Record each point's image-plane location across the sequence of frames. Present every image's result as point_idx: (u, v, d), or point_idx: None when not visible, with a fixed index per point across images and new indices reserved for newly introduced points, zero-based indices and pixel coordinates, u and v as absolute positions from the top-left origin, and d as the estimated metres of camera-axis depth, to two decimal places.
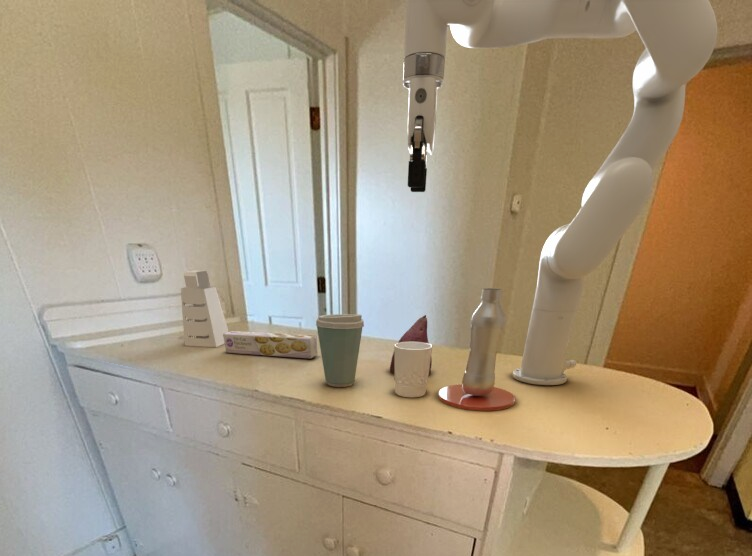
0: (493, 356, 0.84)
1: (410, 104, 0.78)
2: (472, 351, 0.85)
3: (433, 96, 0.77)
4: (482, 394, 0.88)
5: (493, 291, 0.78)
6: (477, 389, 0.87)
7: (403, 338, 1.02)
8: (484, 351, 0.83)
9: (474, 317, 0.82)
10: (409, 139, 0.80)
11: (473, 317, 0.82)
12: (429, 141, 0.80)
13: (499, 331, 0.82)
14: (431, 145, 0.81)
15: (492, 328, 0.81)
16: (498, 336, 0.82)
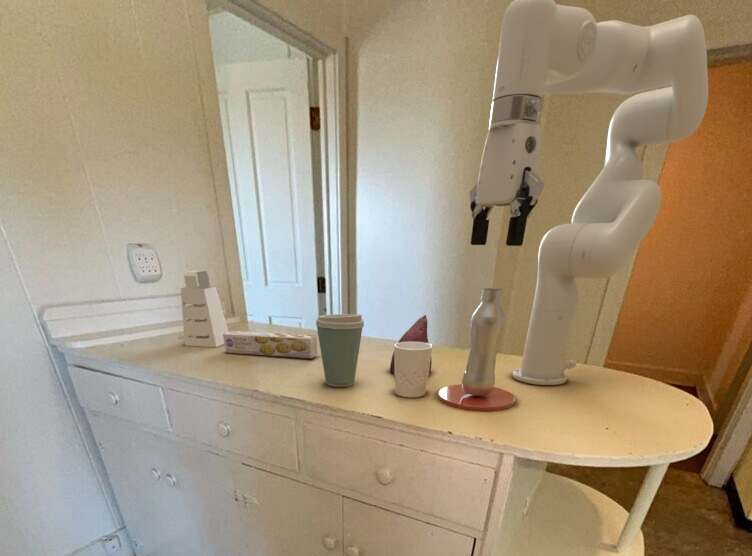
0: (493, 356, 0.84)
1: (519, 153, 0.66)
2: (472, 351, 0.85)
3: None
4: (482, 394, 0.88)
5: (493, 291, 0.78)
6: (477, 389, 0.87)
7: (403, 338, 1.02)
8: (484, 351, 0.83)
9: (474, 317, 0.82)
10: (514, 192, 0.68)
11: (473, 317, 0.82)
12: None
13: (499, 331, 0.82)
14: None
15: (492, 328, 0.81)
16: (498, 336, 0.82)
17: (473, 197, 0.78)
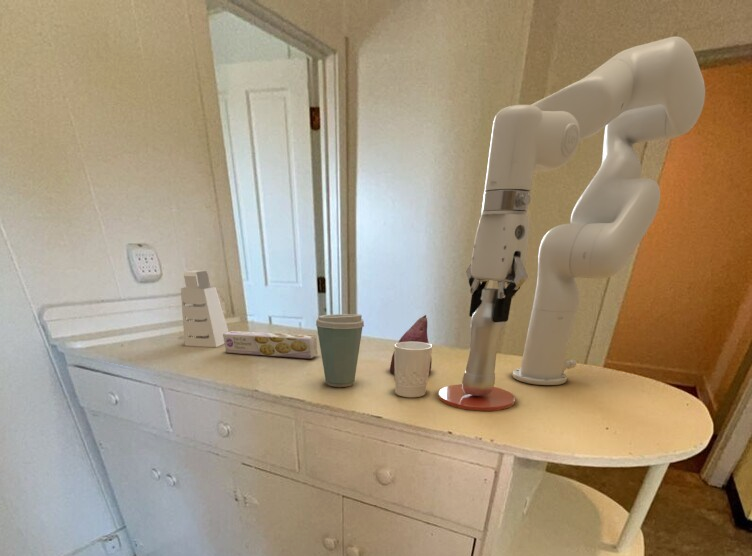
0: (493, 356, 0.84)
1: (509, 239, 0.71)
2: (472, 351, 0.85)
3: (528, 232, 0.72)
4: (482, 394, 0.88)
5: (493, 291, 0.78)
6: (477, 389, 0.87)
7: (403, 338, 1.02)
8: (484, 351, 0.83)
9: (474, 317, 0.82)
10: (505, 273, 0.74)
11: (473, 317, 0.82)
12: None
13: (499, 331, 0.82)
14: None
15: (492, 328, 0.81)
16: (498, 336, 0.82)
17: (470, 274, 0.83)
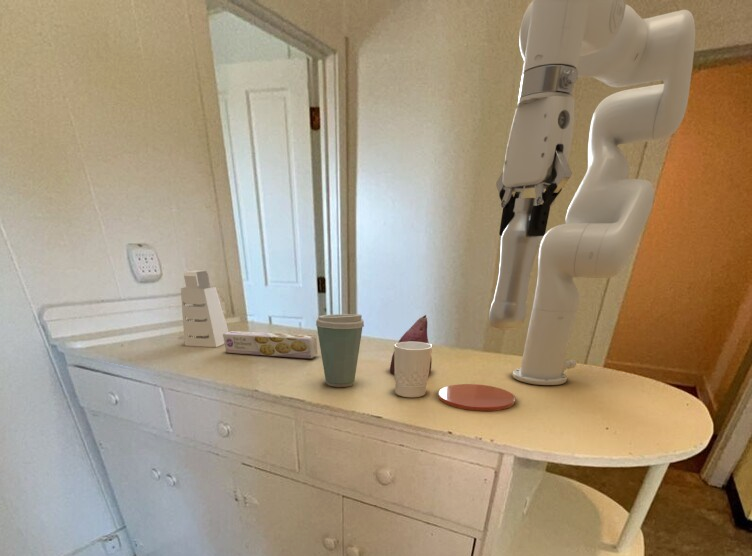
0: (526, 280, 0.74)
1: (551, 128, 0.61)
2: (502, 275, 0.75)
3: (573, 122, 0.62)
4: (512, 326, 0.78)
5: (528, 199, 0.68)
6: (507, 320, 0.77)
7: (403, 338, 1.02)
8: (515, 273, 0.73)
9: (505, 233, 0.71)
10: (545, 172, 0.64)
11: (504, 233, 0.72)
12: None
13: (534, 249, 0.71)
14: None
15: (526, 244, 0.71)
16: (532, 255, 0.72)
17: (501, 185, 0.73)
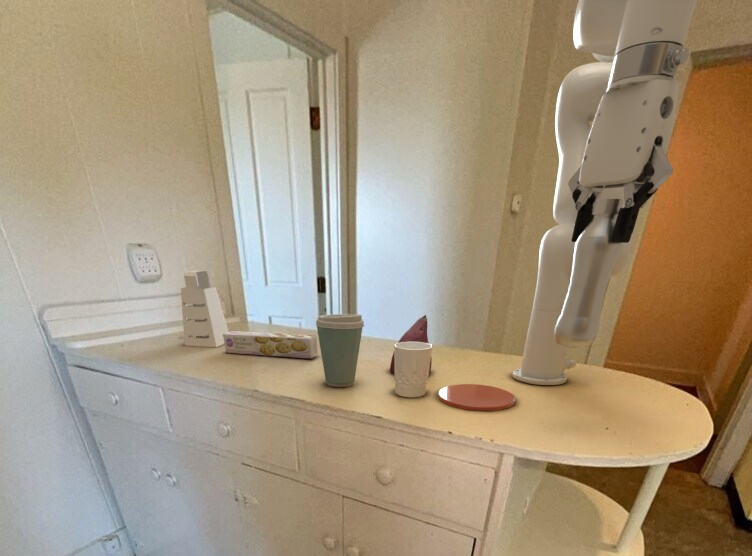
0: (603, 292, 0.65)
1: (651, 118, 0.52)
2: (575, 286, 0.66)
3: (675, 111, 0.53)
4: (583, 344, 0.69)
5: (613, 200, 0.59)
6: (578, 337, 0.68)
7: (403, 338, 1.02)
8: (592, 285, 0.64)
9: (582, 239, 0.62)
10: (640, 168, 0.55)
11: (580, 239, 0.63)
12: None
13: (615, 257, 0.63)
14: None
15: (608, 252, 0.62)
16: (612, 264, 0.63)
17: (575, 185, 0.64)
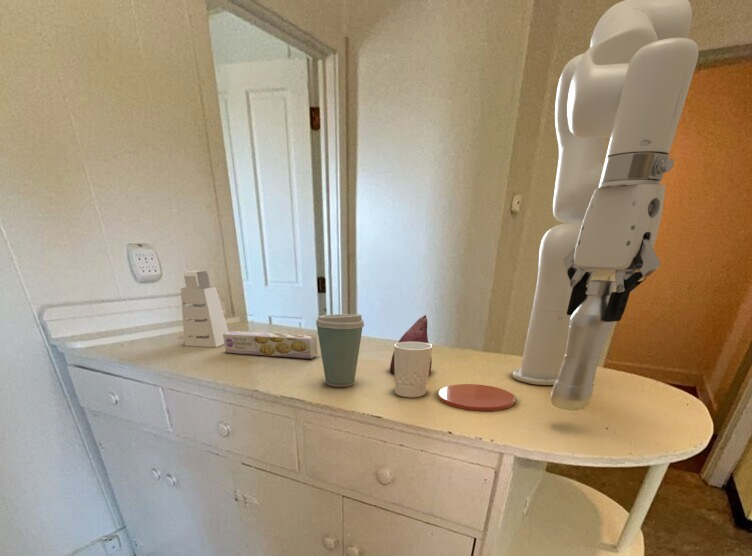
0: (596, 362, 0.69)
1: (640, 217, 0.56)
2: (570, 357, 0.70)
3: (662, 209, 0.57)
4: (578, 408, 0.73)
5: (605, 283, 0.63)
6: (573, 403, 0.72)
7: (403, 338, 1.02)
8: (586, 357, 0.68)
9: (577, 315, 0.67)
10: (630, 260, 0.59)
11: (575, 315, 0.67)
12: None
13: (607, 333, 0.67)
14: None
15: (601, 329, 0.66)
16: (605, 339, 0.67)
17: (570, 263, 0.68)
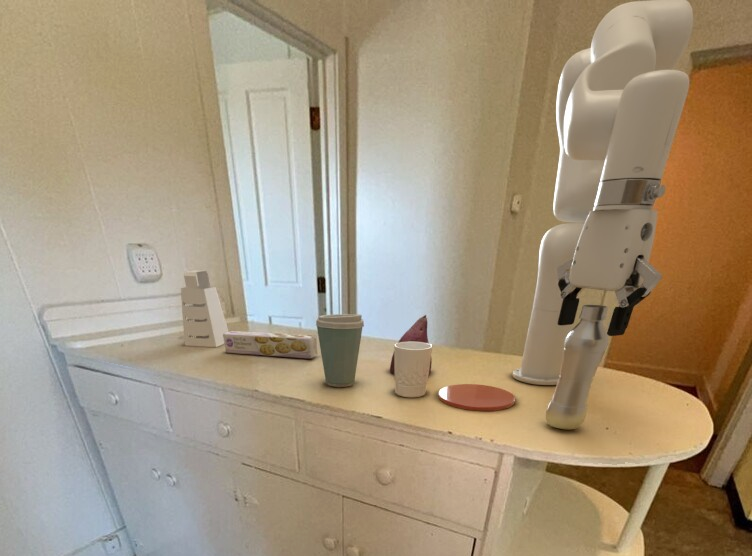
0: (590, 384, 0.71)
1: (633, 241, 0.58)
2: (564, 378, 0.72)
3: (654, 232, 0.59)
4: (572, 428, 0.75)
5: (598, 309, 0.65)
6: (567, 422, 0.74)
7: (403, 338, 1.02)
8: (580, 378, 0.70)
9: (571, 339, 0.68)
10: (623, 282, 0.60)
11: (569, 339, 0.69)
12: (640, 283, 0.62)
13: (600, 356, 0.68)
14: None
15: (594, 352, 0.68)
16: (598, 361, 0.69)
17: (562, 274, 0.70)
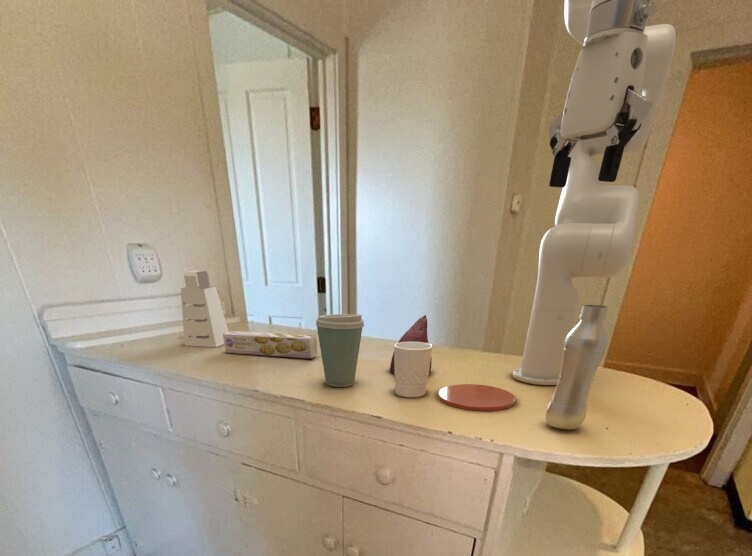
0: (590, 384, 0.71)
1: (623, 68, 0.58)
2: (564, 378, 0.72)
3: (645, 62, 0.59)
4: (572, 428, 0.75)
5: (598, 309, 0.65)
6: (567, 422, 0.74)
7: (403, 338, 1.02)
8: (580, 378, 0.70)
9: (571, 339, 0.68)
10: (614, 116, 0.60)
11: (569, 339, 0.69)
12: None
13: (600, 356, 0.68)
14: None
15: (594, 352, 0.68)
16: (598, 361, 0.69)
17: (554, 132, 0.70)
